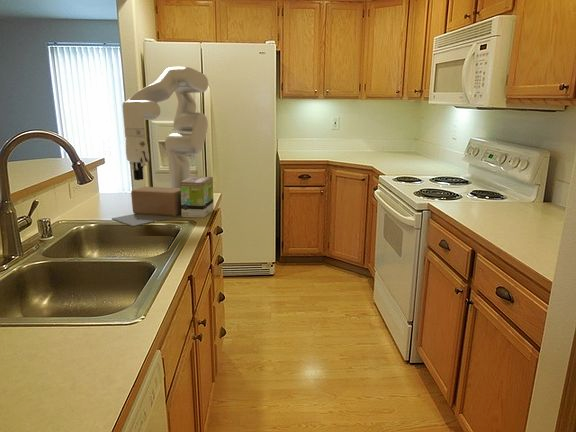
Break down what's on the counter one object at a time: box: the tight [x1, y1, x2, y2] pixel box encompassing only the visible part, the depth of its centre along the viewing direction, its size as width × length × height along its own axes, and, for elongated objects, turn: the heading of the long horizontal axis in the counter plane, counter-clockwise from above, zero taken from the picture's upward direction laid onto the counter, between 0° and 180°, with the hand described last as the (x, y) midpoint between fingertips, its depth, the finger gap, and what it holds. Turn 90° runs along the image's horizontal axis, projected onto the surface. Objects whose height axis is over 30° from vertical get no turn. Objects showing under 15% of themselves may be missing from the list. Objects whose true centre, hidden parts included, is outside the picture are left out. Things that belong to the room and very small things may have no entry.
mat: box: [111, 213, 182, 227], centre depth 177 cm, size 22×16×1 cm
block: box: [130, 186, 182, 216], centre depth 182 cm, size 10×10×20 cm
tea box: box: [180, 176, 215, 219], centre depth 182 cm, size 15×10×15 cm, turn 175°
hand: (138, 179), depth 176 cm, fingers closed
